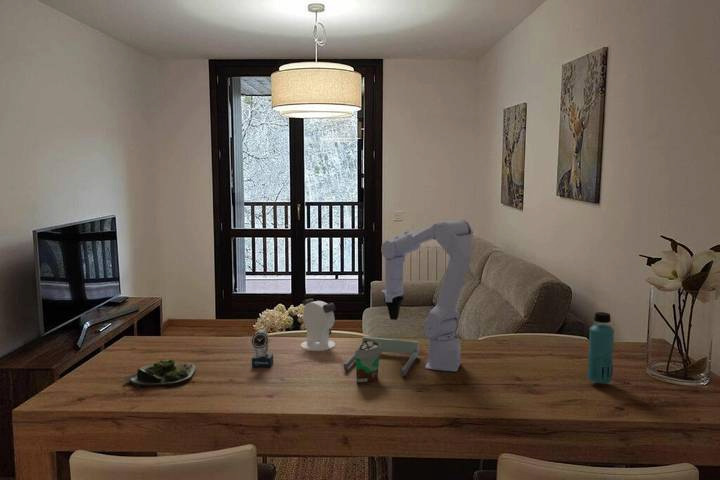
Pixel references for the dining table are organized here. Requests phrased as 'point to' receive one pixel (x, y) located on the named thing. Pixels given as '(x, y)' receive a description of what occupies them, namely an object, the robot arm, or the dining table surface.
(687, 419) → the dining table surface
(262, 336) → the watch
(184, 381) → the salad plate
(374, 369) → the food container
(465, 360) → the dining table surface
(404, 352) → the grey u-shaped frame
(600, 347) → the beverage bottle
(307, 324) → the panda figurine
